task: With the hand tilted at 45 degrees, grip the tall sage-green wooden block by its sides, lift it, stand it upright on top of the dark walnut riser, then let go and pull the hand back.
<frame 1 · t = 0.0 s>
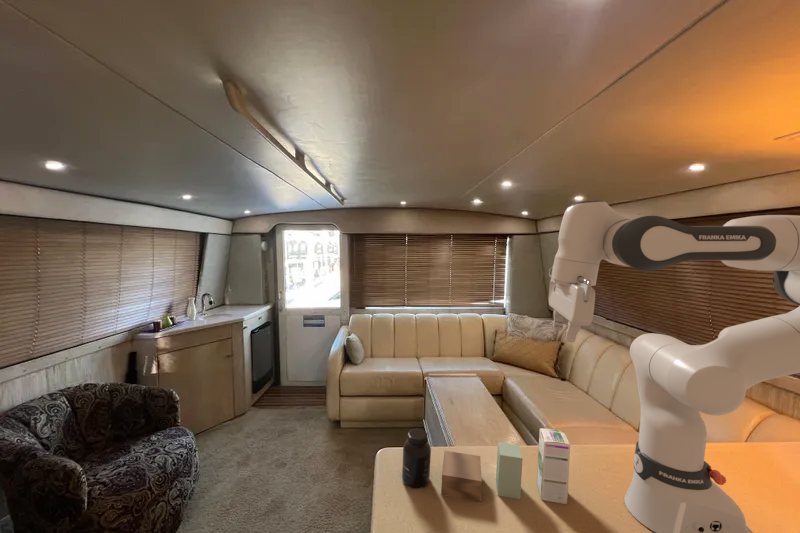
hand: (563, 334, 75), 39 cm above the countertop, tool pointing down, fingers open, 8 cm apart
walnut riser: (461, 484, 81), on the countertop
supplement bottle: (415, 480, 82), on the countertop
syrup box: (550, 494, 79), on the countertop
sage block: (507, 489, 80), on the countertop
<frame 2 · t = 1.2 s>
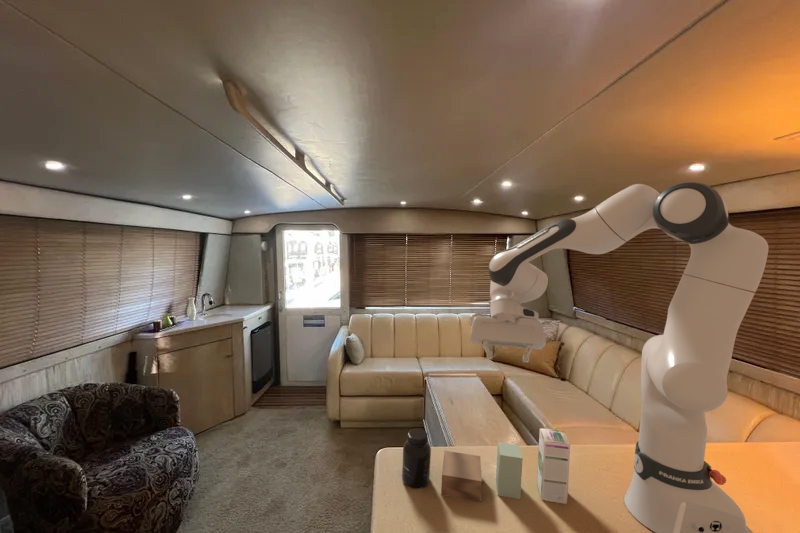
hand: (507, 359, 90), 28 cm above the countertop, tool tilted 45°, fingers open, 8 cm apart
nothing on the countertop moved.
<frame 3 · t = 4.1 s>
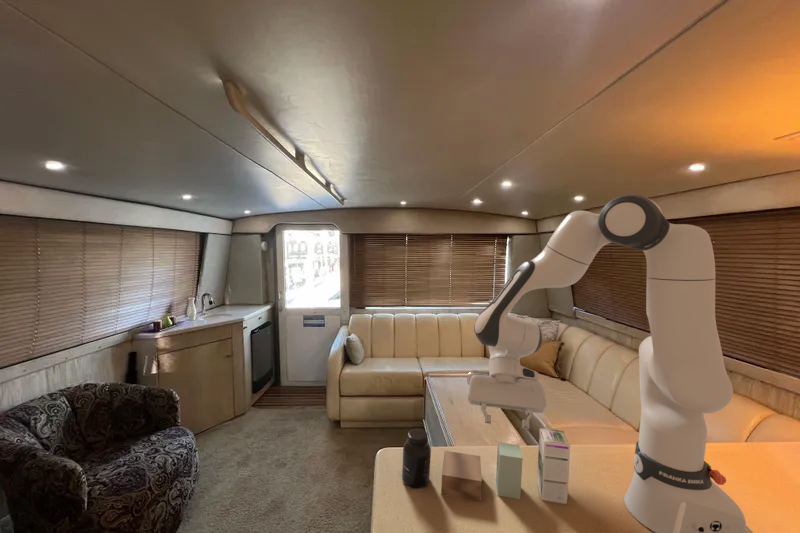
hand: (506, 425, 86), 12 cm above the countertop, tool tilted 45°, fingers open, 8 cm apart
nothing on the countertop moved.
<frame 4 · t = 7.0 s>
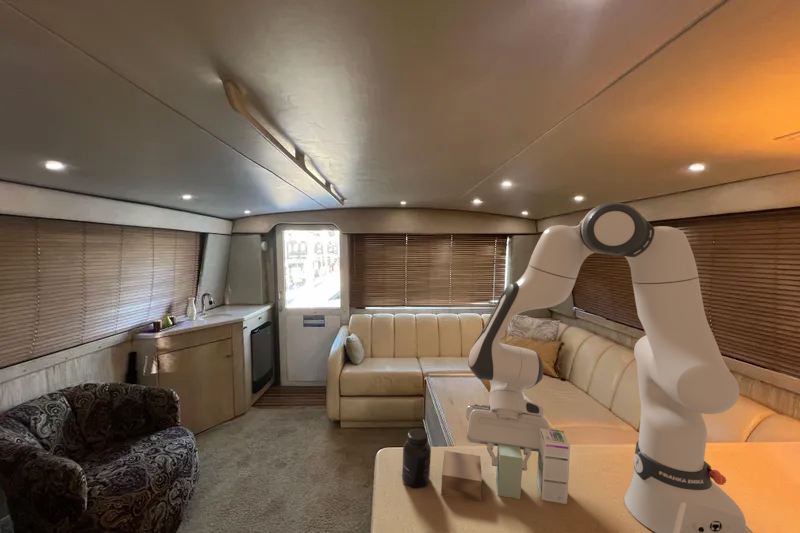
hand: (509, 467, 79), 6 cm above the countertop, tool tilted 45°, fingers closed on sage block, 5 cm apart
sage block: (507, 489, 80), on the countertop, touching gripper
everything else where it was.
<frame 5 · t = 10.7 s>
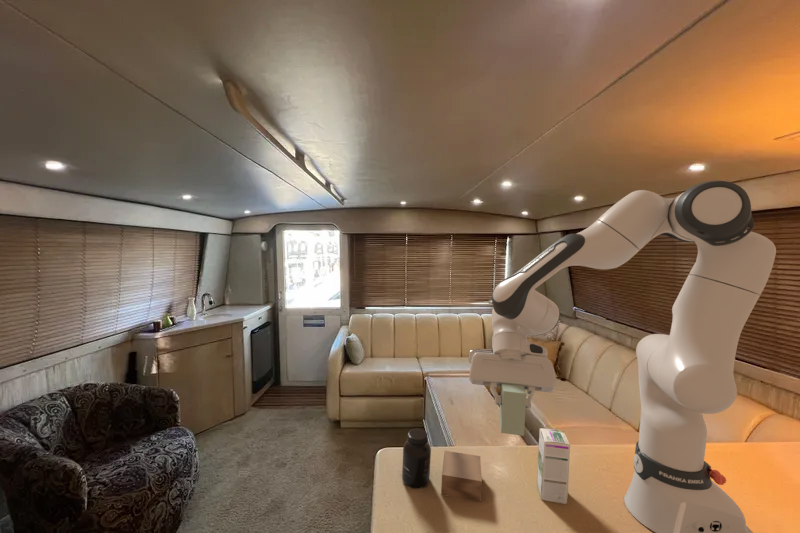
hand: (512, 405, 78), 21 cm above the countertop, tool tilted 45°, fingers closed on sage block, 5 cm apart
sage block: (511, 428, 79), point 15 cm above the countertop, touching gripper
everything else where it was.
when the fingers open (12 cm above the countertop, at t = 14.3 s): sage block drops 1 cm, resting on walnut riser.
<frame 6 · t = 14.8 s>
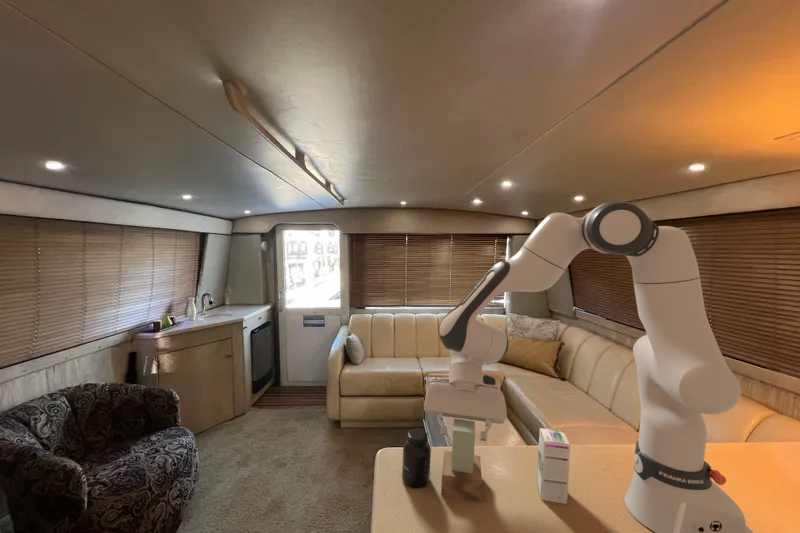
hand: (463, 437, 79), 12 cm above the countertop, tool tilted 45°, fingers open, 8 cm apart
sage block: (462, 464, 81), point 5 cm above the countertop, touching walnut riser
everything else where it was.
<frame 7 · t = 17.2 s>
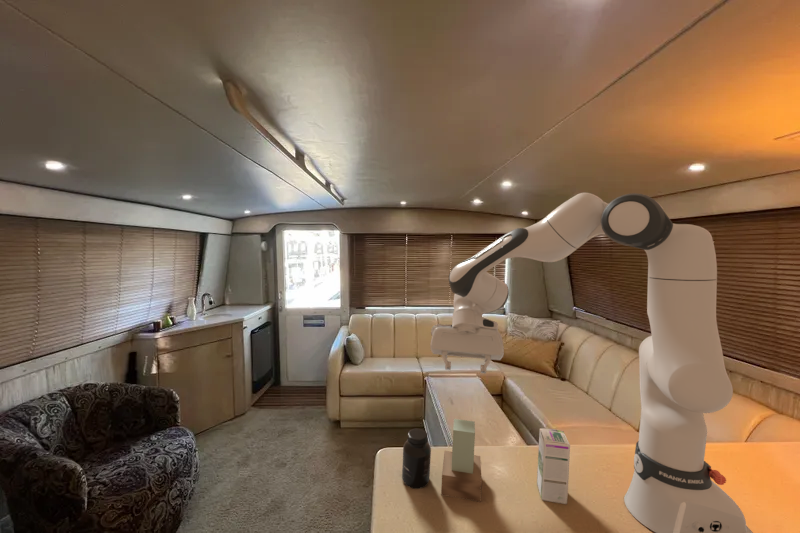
hand: (465, 370, 90), 24 cm above the countertop, tool tilted 45°, fingers open, 8 cm apart
nothing on the countertop moved.
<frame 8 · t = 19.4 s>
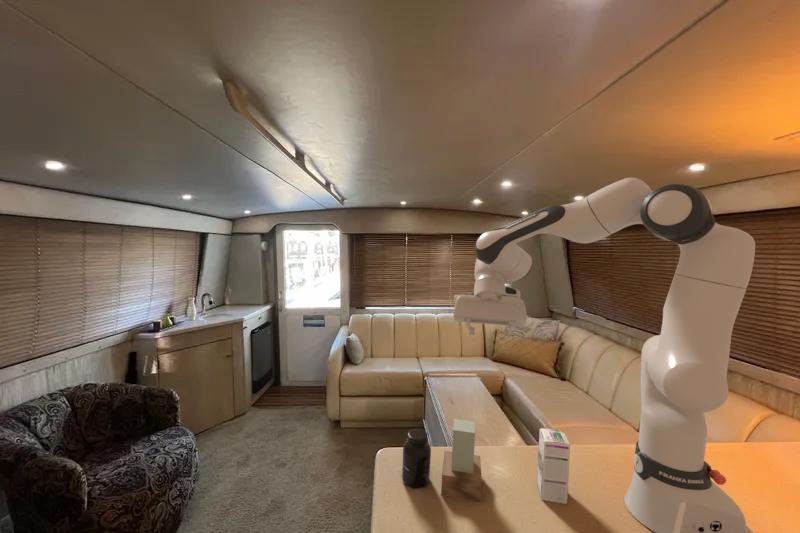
hand: (489, 336, 91), 33 cm above the countertop, tool tilted 45°, fingers open, 8 cm apart
nothing on the countertop moved.
at the end: sage block 0.1 cm off-centre on the walnut riser, point 5.0 cm above the walnut riser's base; sage block tilted 0°; the gripper is holding nothing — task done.
